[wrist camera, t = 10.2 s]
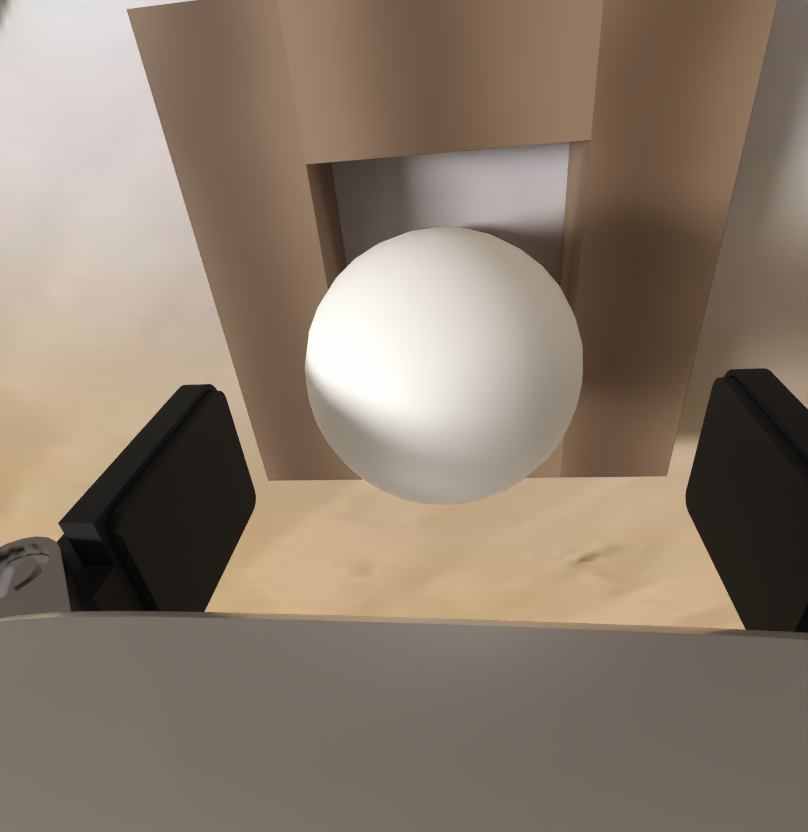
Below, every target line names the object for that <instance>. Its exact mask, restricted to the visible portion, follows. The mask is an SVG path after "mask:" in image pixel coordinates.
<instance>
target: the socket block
mask: <svg viewBox="0 0 808 832" xmlns="http://www.w3.org/2000/svg"><path fill="white" fill-rule="evenodd" d="M777 1H778V0H196V1H188V2H180V3H172V4H165V5H157V6H149V7H141V8H133V9H127V12H128V15H129V19H130V22H131V25H132V29H133V32H134V35H135V39H136V42H137V45H138V49H139V52H140V55H141V59H142V62H143V65H144V69H145V72H146V75H147V79H148V82H149V85H150V89H151V92H152V95H153V99H154V102H155V105H156V109H157V112H158V115H159V119H160V122H161V125H162V129H163V132H164V135H165V139H166V142H167V145H168V149H169V152H170V155H171V158H172V162H173V165H174V168H175V172H176V175H177V178H178V182H179V185H180V188H181V192H182V195H183V198H184V202H185V205H186V208H187V212H188V215H189V218H190V222H191V225H192V228H193V232H194V235H195V238H196V242H197V245H198V248H199V252H200V255H201V258H202V262H203V265H204V268H205V272H206V275H207V278H208V282H209V285H210V288H211V291H212V295H213V298H214V301H215V305H216V308H217V311H218V315H219V318H220V321H221V325H222V328H223V331H224V335H225V338H226V341H227V345H228V348H229V351H230V355H231V358H232V361H233V365H234V368H235V371H236V375H237V378H238V381H239V385H240V388H241V391H242V395H243V398H244V401H245V405H246V408H247V411H248V415H249V418H250V421H251V425H252V428H253V431H254V434H255V438H256V441H257V444H258V448H259V451H260V454H261V458H262V461H263V464H264V468H265V471H266V474H267V478H268V481H271V480H362V478H361V477H360V476H358V475H357V474H356V473H355V472H353V471H352V470H351V469H350V468H349V467H347V465H346V464H345V463H344V462H343V461H342V460H341V458H340V457H339V456H338V455H337V454H336V453H335V451H334V450H333V449H332V448H331V446H330V445H329V444H328V442H327V441H326V439H325V437H324V436H323V434H322V432H321V430H320V429H319V427H318V425H317V423H316V420H315V417H314V414H313V411H312V408H311V405H310V402H309V397H308V392H307V384H306V374H305V361H306V353H307V344H308V336H309V330H310V327H311V324H312V322H313V319H314V316H315V313H316V310H317V308H318V306H319V304H320V303H321V301H322V299H323V298H324V296H325V295H326V293H327V292H328V290H329V288H330V287H331V285H332V284H333V282H334V280H335V279H336V277H337V276H338V275H339V274H340V273H341V272H342V271H343V270H344V269H345V268H346V260H345V254H344V247H343V240H342V234H341V227H340V221H339V214H338V208H337V201H336V194H335V188H334V181H333V175H332V168H331V162H339V161H351V160H362V159H374V158H386V157H397V156H409V155H421V154H432V153H444V152H456V151H467V150H479V149H491V148H502V147H514V146H526V145H537V144H549V143H560V142H570V150H569V164H568V178H567V192H566V206H565V220H564V234H563V248H562V262H561V275H560V288H561V290H562V292H563V293H564V295H565V297H566V299H567V301H568V303H569V305H570V307H571V309H572V311H573V314H574V316H575V319H576V321H577V325H578V329H579V334H580V338H581V342H582V346H583V375H582V386H581V390H580V395H579V399H578V404H577V408H576V410H575V412H574V415H573V417H572V420H571V422H570V424H569V426H568V428H567V430H566V432H565V435H564V437H563V439H562V440H561V442H560V443H559V444H558V446H557V447H556V448H555V450H554V451H553V452H552V454H551V455H550V456H549V457H548V458H547V459H546V460H545V461H544V462H543V463H542V464H541V465H539V466H538V467H537V468H536V469H535V470H534V471H533V472H532V473H530V474H529V475H528V476H527V477H526V478H545V477H637V476H667V473H668V468H669V464H670V460H671V455H672V451H673V447H674V443H675V438H676V434H677V430H678V425H679V421H680V417H681V413H682V408H683V404H684V400H685V395H686V391H687V387H688V382H689V378H690V374H691V370H692V365H693V361H694V357H695V352H696V348H697V344H698V340H699V335H700V331H701V327H702V322H703V318H704V314H705V310H706V305H707V301H708V297H709V292H710V288H711V284H712V280H713V275H714V271H715V267H716V262H717V258H718V254H719V249H720V245H721V241H722V237H723V232H724V228H725V224H726V219H727V215H728V211H729V207H730V202H731V198H732V194H733V189H734V185H735V181H736V177H737V172H738V168H739V164H740V159H741V155H742V151H743V146H744V142H745V138H746V134H747V129H748V125H749V121H750V116H751V112H752V108H753V104H754V99H755V95H756V91H757V86H758V82H759V78H760V74H761V69H762V65H763V61H764V56H765V52H766V48H767V43H768V39H769V35H770V31H771V26H772V22H773V18H774V13H775V9H776V5H777Z"/></svg>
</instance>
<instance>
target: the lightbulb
mask: <svg viewBox="0 0 808 832" xmlns="http://www.w3.org/2000/svg"><path fill="white" fill-rule="evenodd" d="M305 374H306V384H307V392H308V397H309V402H310V405H311V408H312V411H313V414H314V417H315V420H316V423H317V425H318V427H319V429H320V430H321V432H322V434H323V436H324V437H325V439H326V441H327V442H328V444H329V445H330V446H331V448H332V449H333V450H334V451H335V453H336V454H337V455H338V456H339V457H340V458H341V460H342V461H343V462H344V463H345V464H346V465H347V467H349V468H350V469H351V470H352V471H353V472H355V473H356V474H357V475H358V476H360V477H361V478H362V479H363V480H365V481H367V482H368V483H370V484H372V485H373V486H375V487H377V488H379V489H380V490H382V491H384V492H387V493H389V494H392V495H394V496H397V497H399V498H402V499H405V500H409V501H414V502H418V503H422V504H435V505H450V504H462V503H467V502H471V501H476V500H480V499H484V498H487V497H490V496H492V495H495V494H497V493H500V492H503V491H505V490H507V489H509V488H510V487H512V486H514V485H515V484H517V483H518V482H520V481H522V480H523V479H525V478H526V477H527V476H528V475H529V474H530V473H532V472H533V471H534V470H535V469H536V468H537V467H538V466H539V465H541V464H542V463H543V462H544V461H545V460H546V459H547V458H548V457H549V456H550V455H551V454H552V452H553V451H554V450H555V448H556V447H557V446H558V444H559V443H560V442H561V440H562V439H563V437H564V435H565V432H566V430H567V428H568V426H569V424H570V422H571V420H572V417H573V415H574V412H575V410H576V408H577V404H578V399H579V395H580V390H581V386H582V375H583V346H582V342H581V338H580V334H579V329H578V325H577V321H576V319H575V316H574V314H573V311H572V309H571V307H570V305H569V303H568V301H567V299H566V297H565V295H564V293H563V292H562V290H561V288H560V286H559V285H558V284H557V283H556V281H555V280H554V279H553V278H552V277H551V275H550V274H549V273H548V272H547V271H546V270H545V268H544V267H543V266H542V265H540V264H539V263H538V262H537V261H535V260H534V259H533V258H531V257H530V256H529V255H527V254H526V253H525V252H524V251H522V250H521V249H519V248H518V247H516V246H514V245H512V244H509V243H507V242H505V241H503V240H501V239H499V238H497V237H495V236H493V235H491V234H487V233H483V232H479V231H475V230H471V229H467V228H456V227H432V228H426V229H420V230H414V231H409V232H407V233H404V234H401V235H399V236H396V237H394V238H391V239H388V240H386V241H383V242H381V243H378V244H377V245H375V246H374V247H372V248H370V249H369V250H367V251H366V252H364V253H363V254H361V255H360V256H358V257H357V258H355V259H354V260H353V261H352V262H351V263H350V264H349V265H348V266H347V267H346V268H345V269H344V270H343V271H342V272H341V273H340V274H339V275H338V276H337V277H336V279H335V280H334V282H333V284H332V285H331V287H330V288H329V290H328V292H327V293H326V295H325V296H324V298H323V299H322V301H321V303H320V304H319V306H318V308H317V310H316V313H315V316H314V319H313V322H312V324H311V327H310V330H309V336H308V344H307V353H306V361H305Z"/></svg>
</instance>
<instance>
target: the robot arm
mask: <svg viewBox="0 0 808 832" xmlns="http://www.w3.org/2000/svg"><path fill="white" fill-rule="evenodd" d="M255 503H256V494H255V490H254V487H253V483H252V480H251V477H250V474H249V470H248V467H247V464H246V461H245V458H244V454H243V451H242V448H241V445H240V441H239V438H238V435H237V432H236V428H235V425H234V422H233V419H232V416H231V412H230V409H229V406H228V403H227V399H226V397H225V395H224V393H223V392H221V391H217V389H216V388H215V387H214V386H213V385H211V384H203V385H183V386H181V387H180V388H179V389H178V390H177V391H176V392H175V393H174V394H173V396H172V397H171V398H170V399H169V400H168V401H167V402H166V403H165V404H164V406H163V407H162V408H161V409H160V410H159V411H158V412H157V413H156V415H155V416H154V417H153V418H152V419H151V420H150V421H149V422H148V423H147V425H146V426H145V427H144V428H143V429H142V430H141V431H140V432H139V434H138V435H137V436H136V437H135V438H134V439H133V440H132V441H131V442H130V444H129V445H128V446H127V447H126V448H125V449H124V450H123V451H122V453H121V454H120V455H119V456H118V457H117V458H116V459H115V460H114V461H113V463H112V464H111V465H110V466H109V467H108V468H107V469H106V470H105V471H104V473H103V474H102V475H101V476H100V477H99V478H98V479H97V480H96V482H95V483H94V484H93V485H92V486H91V487H90V488H89V489H88V490H87V492H86V493H85V494H84V495H83V496H82V497H81V498H80V499H79V501H78V502H77V503H76V504H75V505H74V506H73V507H72V508H71V509H70V511H69V512H68V513H67V514H66V515H65V516H64V517H63V518H62V520H61V521H60V522H59V523H58V524H59V525H60V527H61V529H62V530H63V532H64V534H63V536H62V537H61V538H60V539H59V540H58V541H57V542H56V541H54V540H52V539H50V538H48V537H37V536H36V537H30V538H23V539H20V540H17V541H14V542H11V543H8V544H5V545H3V546H1V547H0V832H808V409H807V408H806V407H805V406H804V405H803V404H802V403H801V402H800V401H799V400H798V399H797V398H796V397H795V396H794V395H793V394H792V393H791V392H790V391H789V390H788V389H787V388H786V387H785V386H784V385H783V384H782V383H781V382H780V381H779V380H778V378H777V377H776V376H775V375H774V374H773V373H772V372H771V371H769V370H768V369H730V370H729V371H727V373H726V374H725V376H724V378H717V379H716V380H715V381H714V384H713V386H712V390H711V394H710V398H709V402H708V406H707V410H706V414H705V418H704V422H703V426H702V430H701V434H700V438H699V442H698V446H697V450H696V454H695V458H694V462H693V466H692V470H691V474H690V478H689V482H688V486H687V490H686V506H687V509H688V512H689V514H690V516H691V518H692V520H693V522H694V524H695V526H696V529H697V531H698V533H699V535H700V537H701V539H702V541H703V543H704V545H705V547H706V549H707V551H708V553H709V555H710V557H711V559H712V561H713V563H714V565H715V568H716V570H717V572H718V574H719V576H720V578H721V580H722V582H723V584H724V586H725V588H726V590H727V592H728V594H729V596H730V598H731V600H732V602H733V604H734V607H735V609H736V611H737V613H738V615H739V617H740V619H741V621H742V623H743V625H744V627H745V629H746V630H739V629H719V628H698V627H670V626H643V625H615V624H588V623H560V622H532V621H501V620H470V619H438V618H405V617H372V616H339V615H299V614H260V613H220V612H204V611H205V609H206V607H207V605H208V603H209V601H210V599H211V597H212V595H213V593H214V591H215V589H216V587H217V585H218V582H219V580H220V578H221V576H222V574H223V572H224V570H225V568H226V566H227V564H228V562H229V560H230V558H231V556H232V554H233V552H234V549H235V547H236V545H237V543H238V541H239V539H240V537H241V535H242V533H243V531H244V529H245V527H246V525H247V523H248V521H249V518H250V516H251V514H252V512H253V510H254V507H255Z"/></svg>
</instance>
